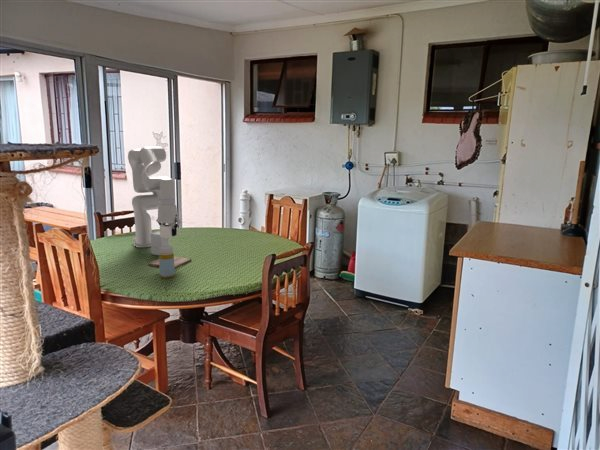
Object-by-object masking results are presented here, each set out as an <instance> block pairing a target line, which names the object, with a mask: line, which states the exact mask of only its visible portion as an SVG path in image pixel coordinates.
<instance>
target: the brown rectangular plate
mask: <svg viewBox="0 0 600 450" xmlns="http://www.w3.org/2000/svg"><path fill="white" fill-rule="evenodd" d="M173 255H174V267H175V269H177V268H180V267H181V266H184V265H187V264H188V263H190V262H192V258H188V257H180V256H179V257H178V256H175V254H174V252H173ZM148 266H150V267H157V268H160V267H159V258H158V259H156V260H154V261H151V262H148Z"/></svg>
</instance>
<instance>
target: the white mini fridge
mask: <svg viewBox="0 0 600 450" xmlns="http://www.w3.org/2000/svg"><path fill="white" fill-rule="evenodd" d="M178 227H179V226H178ZM178 227H177V228H176V229H177V235H176V236H172V229H173V228H172V225H171V224H165V225H162V226H160V225H159V231H160V237H164V238H168V239H171V238H174V237H177V236H179V232H178V231H179V229H178Z"/></svg>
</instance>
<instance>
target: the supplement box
mask: <svg viewBox="0 0 600 450" xmlns="http://www.w3.org/2000/svg"><path fill="white" fill-rule="evenodd" d="M150 236H151V247H150V250H151V255H153V256H154V255H155V256H159V255H160V250H159V248H160V247H161V246H170V245H169V244H170V240H169V238H164V237H160V230H158V231H157V230H156V231H154V232H152V233H151V234H150Z"/></svg>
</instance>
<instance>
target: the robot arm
mask: <svg viewBox="0 0 600 450" xmlns="http://www.w3.org/2000/svg"><path fill="white" fill-rule="evenodd" d="M127 159H128V163H129V165H130V167H131V172H132V184H133V190H134V192H135V193H138V194H140V195H135V196H133V197H132V199H131V206H132V209H133V214H134V226H135V227H134V228H135V229H134V230H135V231H134V232H135V236H133V237H132V239H131V241H133V247H135V246H136V248H151V236H150V234H151V233H153V231H152V230H153V229H152V228H153V227H152V217H151V215H150V214H149V213H148V211H153V210H157V218H156V219H155V221H156V223H158V225H159V227H160V226H162V225H165V224H171V225H172V228H173V229H172V236H174V237H177V236H178V235H177V229H176V228H177V227H179V226H180V225H181V224H182V221H181V220H180V218H179V215H178V214H179V213H178V207H177V204H176V200H175V199H176V196H175V180H174V179H173V178H171V177H169V176H152V175H154V174H157V173H158V172H159V171H161V168H162V162H164V161H166V159H167V152H166V150H165V148H164V147H162V146H144V147H142V148H134V149H130V150H129V151H128V152H127ZM146 193H147V194H146ZM149 193H152V194H149ZM176 235H177V236H176Z"/></svg>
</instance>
